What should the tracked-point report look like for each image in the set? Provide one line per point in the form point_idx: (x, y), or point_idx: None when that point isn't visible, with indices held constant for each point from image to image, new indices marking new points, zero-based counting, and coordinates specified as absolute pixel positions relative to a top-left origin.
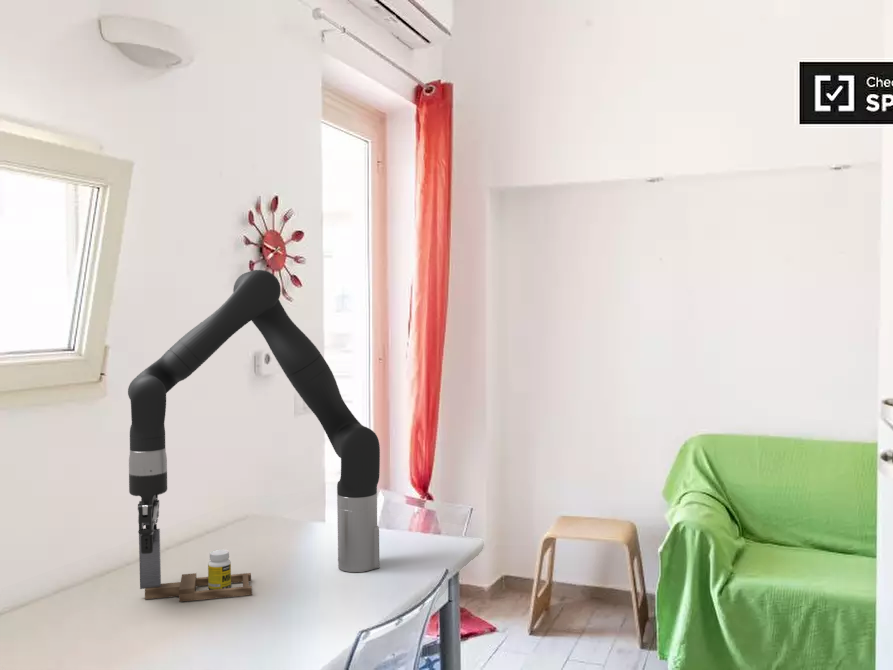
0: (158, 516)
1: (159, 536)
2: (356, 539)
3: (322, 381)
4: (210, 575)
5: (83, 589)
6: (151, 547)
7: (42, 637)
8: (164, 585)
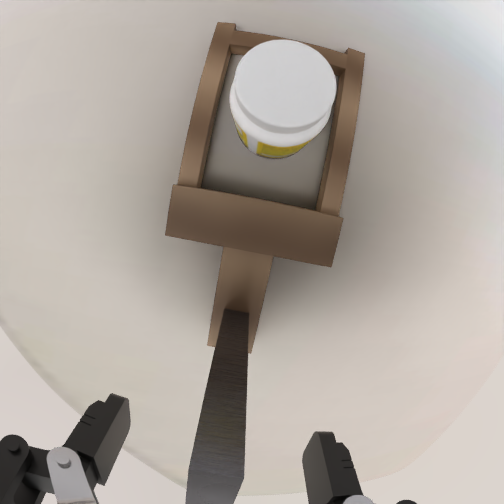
0: (18, 444)
1: (227, 443)
2: None
3: None
4: (300, 147)
5: None
6: (335, 449)
7: None
8: (237, 299)
